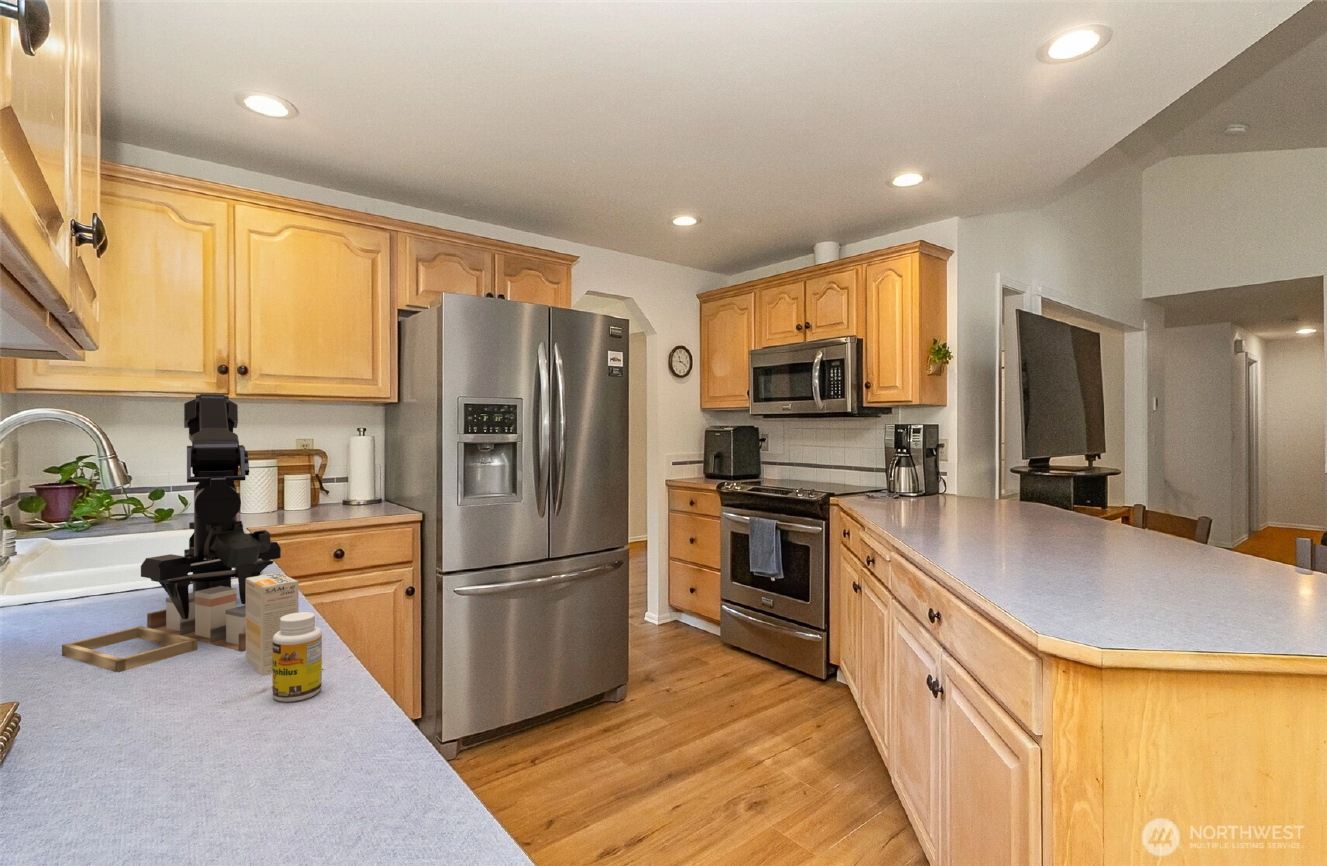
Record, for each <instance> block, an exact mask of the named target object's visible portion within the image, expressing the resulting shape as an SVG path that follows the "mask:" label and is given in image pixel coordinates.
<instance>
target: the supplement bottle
mask: <svg viewBox="0 0 1327 866" xmlns="http://www.w3.org/2000/svg"><path fill="white" fill-rule="evenodd" d="M279 627H280V631H279V632H277V633H276V634H275V635H274V636H273V673H272V689H271V690H272V697H273V698H274V699H275V700H276V701H277V702H283V703H284V702H285V703H289V702H290V703H291V702H293V703H294V702H297V701H298V702H299V701H303V700H306V699H309V698H312V697H314V696H316V695H317V694H318V693H319V692H320V691H321V689H322V684H323V683H322V682H323V680H322V678H323V677H322V675H323V673H322V672H323V671H322V670H323V669H322V668H323V665H322V664H323V661H322V660H323V659H322V657H323V655H322V653H323V652H322V651H323V634H322V633H323V632H322V629H321V628H320V627H319V626H318V627H317V625H316V615H315V613H313V612H311V611H310V612H309V611H308V612H307V611H301V612H299V611H298V613H292V614H288V615H285V616H283V617H281V618H280V626H279Z"/></svg>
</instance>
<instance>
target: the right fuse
mask: <svg viewBox="0 0 1327 866" xmlns="http://www.w3.org/2000/svg"><path fill="white" fill-rule="evenodd" d="M243 632H246V605H244V604H243V605H241V606H236V608H232V609H228V610H226V642H228V643H233V644H237V645H239V634H240V633H243Z"/></svg>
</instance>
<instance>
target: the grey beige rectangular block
mask: <svg viewBox="0 0 1327 866" xmlns="http://www.w3.org/2000/svg"><path fill="white" fill-rule="evenodd" d="M165 609H166V628H168V629H173V630H177V631H180V622H183V621H187V620H191V619H195V593H193V591H192V592H189V616H188V619H182V618H181V616H180V614H179V613H178V611H177V609H176V607H175V605H174V604H173V602H172V600H171V598H170V597H165Z"/></svg>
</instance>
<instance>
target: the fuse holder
mask: <svg viewBox="0 0 1327 866" xmlns="http://www.w3.org/2000/svg"><path fill="white" fill-rule="evenodd" d="M146 615H147V616H146V617H147V619H146V627H147V628H151V629H156V630H160V631H164V632H168V633H172V634H177V635H181V636H185V637H189V638H193V639H197V642H201V643H205V644H209V645H214V646H218V647H222V648H226V649H230V650H234V651H238V652H242V653H243V652H246V632H243V633H240V634H239V645H237V644H233V643H228V642H226V625H224V626H220V627H216V628H212V629H210V638H207V637H203V636H198V635H195V619H191V620H187V621H183V622H180V631H177V630H173V629H168V628H166V608H165V609H161V610H158V611H157V610H155V611H152V612H147V614H146Z"/></svg>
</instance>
